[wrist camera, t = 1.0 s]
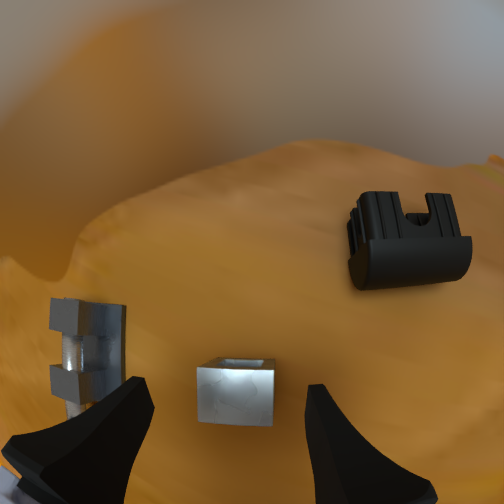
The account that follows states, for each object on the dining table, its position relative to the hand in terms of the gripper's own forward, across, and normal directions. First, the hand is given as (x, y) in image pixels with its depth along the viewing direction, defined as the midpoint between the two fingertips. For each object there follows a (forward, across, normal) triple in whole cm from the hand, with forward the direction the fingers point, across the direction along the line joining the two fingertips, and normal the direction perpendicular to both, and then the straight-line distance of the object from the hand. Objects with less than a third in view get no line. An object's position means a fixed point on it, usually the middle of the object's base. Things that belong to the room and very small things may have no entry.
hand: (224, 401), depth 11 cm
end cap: (+15, -14, -2) cm, 21 cm away
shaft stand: (+10, +16, +9) cm, 21 cm away
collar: (+10, 0, +8) cm, 13 cm away
